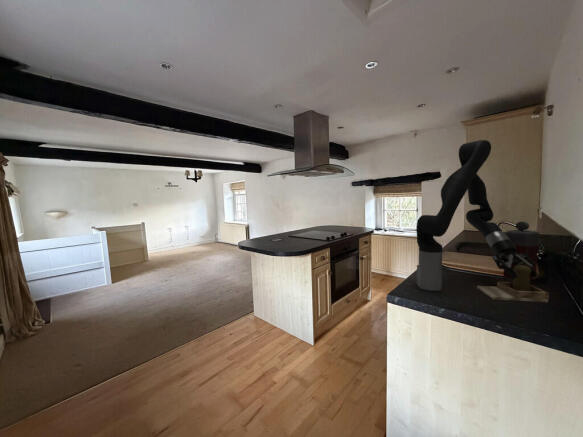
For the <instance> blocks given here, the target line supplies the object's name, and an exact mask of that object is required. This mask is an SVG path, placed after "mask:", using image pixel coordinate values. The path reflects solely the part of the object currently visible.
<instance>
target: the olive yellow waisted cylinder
mask: <svg viewBox="0 0 583 437" xmlns="http://www.w3.org/2000/svg"><path fill="white" fill-rule="evenodd" d="M514 271H515V273H516V274H517V275H518V277H516V278H514V279H512V280H513V281H512V282H513V285H512V289H514V290H516V291H531V286H530V284H531V281H530V278H529V274H531V269H530V267H528V266H524V265H516V266H515V267H514Z"/></svg>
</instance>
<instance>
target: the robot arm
mask: <svg viewBox="0 0 583 437" xmlns="http://www.w3.org/2000/svg"><path fill="white" fill-rule="evenodd" d="M491 152H492V144H491V142H490V141H489V140H487V139H480V140H475V141H471V142H466V143H462V144H461V146H460V147H459V148H458V159H459V163H460V167H459V168H458V169H457V170H455V171H454V172H452V174H450V176H448V177H447V179H446V180H445V182H444V183H443V185H442V186H441V190H440V197H441V208H440V209H439V210H438V213H437V214H436V215H434V214H433V215H431V214H423V215H420V216H419V218H418V219H417V222H416V244H417V246H418V264H417V265H416V285H417V287H418V288H419V290H424V291H431V292H439V291H442V284H443V283H442V281H443V278H442V276H443V245H442V244H441V243H439V242H438V241H436V239H435V238H434V237H436V238H439V237H443V236H444V235H445V234H446V232H447V231H448V229H449V227H450V225H451V223H452V220H453V217H454V215H455V212H456V210H457V209H458V207H459V205H460V203H461V201H462V200H463V198H464V196H465V195H466V193H467V196H468V197H467V198H468V203H469V204H470V205H472V206H478V207H479V208H476V209H471V210H468V211H467V212H466V214H465V218H466V221H467V223H469V224H470V225H471V226H472V227H473V228H474V229H476V230H477V231H479V232H480V233H481V235H482V236H483V237H484V239H485V240H486V242H487V244H488V246H489V247H490V248H491V250H492V251H493V252H494V255H493V256H492V260H493V261H494V263H495V264H496V266H497V268H498V269H500V270H503V271H504V270H506V271H507V273H508V274H509V275H510V276H511V277H512V278H516V277H518V275H517V274H516V273H515V271H514V270H513V268H511V265H513V264H514V265H524V264H526V265H527V266H528V267H530V269H531V274H530V275H531V277H536V278H537V277H538V276H539V274H538V272H537V270H536V271H535V270H534V268H533V266H535V265H536V264H535V263H534V261H533V260H532V259H531V258H530V257H529V256H528V255H527V254H526V253H523V254H519V253H518V252H517V248H516V247H515V245H514V244H513V243H512V242H511V240H510V239H509V238H508V237H507V235H506V233H505V232H503V230H502V228H501V227H500V226H499V225H498V224H497V223H496V222H492V220H493V218H494V212H493V209H492V207H491V205H490V203H489V201H488V198H487V197H488V194H487V186H486V184H485V182H484V181H483V179H482V178H481V176H480V175H479V174H478V172H479V171H480V169H481V168H482V167H483V165H484V164H485V162H486V161H487V159H488V158H489V156H490V154H491ZM490 221H491V222H490ZM521 261H523V262H521ZM520 262H521V263H520ZM529 262H530V263H531V264H530V263H529ZM526 265H524V266H526ZM512 278H511V279H512Z"/></svg>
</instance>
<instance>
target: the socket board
mask: <svg viewBox="0 0 583 437" xmlns="http://www.w3.org/2000/svg"><path fill="white" fill-rule="evenodd" d="M512 285H513V281H511V282H510V281H497V283H496V286H490V285H489V286H487V285H476V289H477V290H479V291H480V292H482V293H483V294H485V295H487V297H490V298H491V299H492V300H494V301H495V300H498V301H499V300H500V301H515V302H516V301H518V302H535V303H549V298H550V293H549V292H548V291H545V290H544V289H542V288H539V287H537V286H535V285H532V284H531V283H530V286H531V291H516V290H514V289H512Z"/></svg>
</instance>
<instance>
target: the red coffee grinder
mask: <svg viewBox="0 0 583 437" xmlns="http://www.w3.org/2000/svg"><path fill="white" fill-rule="evenodd" d="M529 226H530V224H529V223H528V222H527V221H524V220H523V221H518V222H517V223H515V227H516V229H511V230H507V231H505V234H506V235H507V237H508V238H509V239H510V240H511V242H512V243H513V244H514V245H515V247H516V248H517V252H518V253H519V254H523V253H526V254H527V255H528V256H529V257H530V258H531V259H532V260H533V261H534V263H535V264H536V265H535V266H533V268H534V270H535V271H536V272H537V268H538V265H537V264H538V252H539V250H538V249H539V238H540V237H539V236H540V235H539V231H537V230H528V229H529V228H530V227H529ZM521 262H523V261H521ZM521 262H520V263H521ZM529 263H530V262H529ZM530 264H531V263H530ZM524 265H526V264H524ZM515 266H516V265H514V264H513V265H511V268H513V270H514V267H515ZM526 266H527V265H526ZM503 277H504V278H508V279H512V280H514V278H512V277H511V276H510V275H509V274H508V273H507V271H506V270H504V269H503ZM529 278H530V282H531V281H534V280H535V279H534V278H533V277H531V275H530V274H529Z"/></svg>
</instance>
